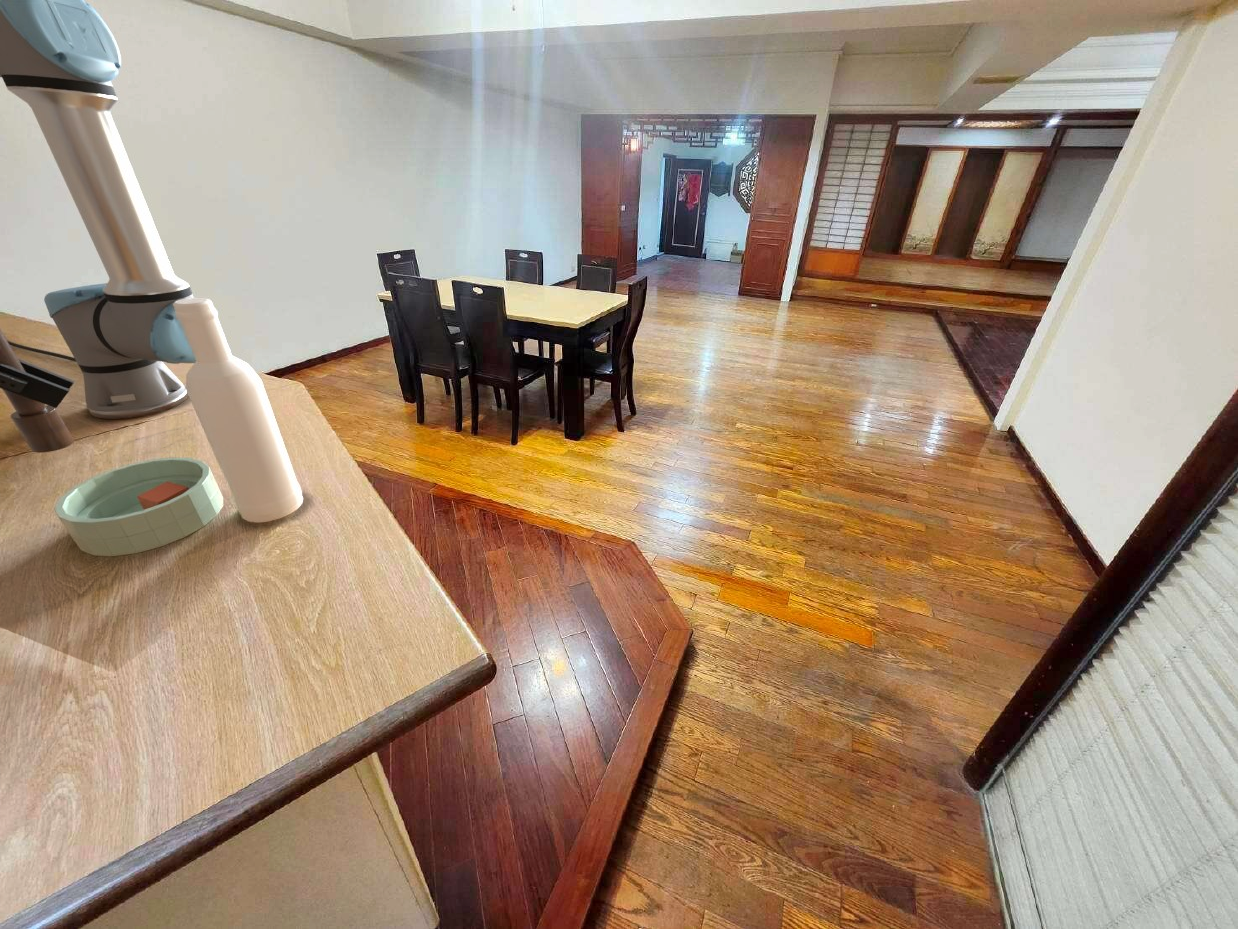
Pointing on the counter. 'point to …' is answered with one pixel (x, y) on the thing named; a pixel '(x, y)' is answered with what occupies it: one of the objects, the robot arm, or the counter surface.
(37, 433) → the pestle
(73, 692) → the counter surface
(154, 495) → the block
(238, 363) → the bottle
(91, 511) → the bowl
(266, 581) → the counter surface
